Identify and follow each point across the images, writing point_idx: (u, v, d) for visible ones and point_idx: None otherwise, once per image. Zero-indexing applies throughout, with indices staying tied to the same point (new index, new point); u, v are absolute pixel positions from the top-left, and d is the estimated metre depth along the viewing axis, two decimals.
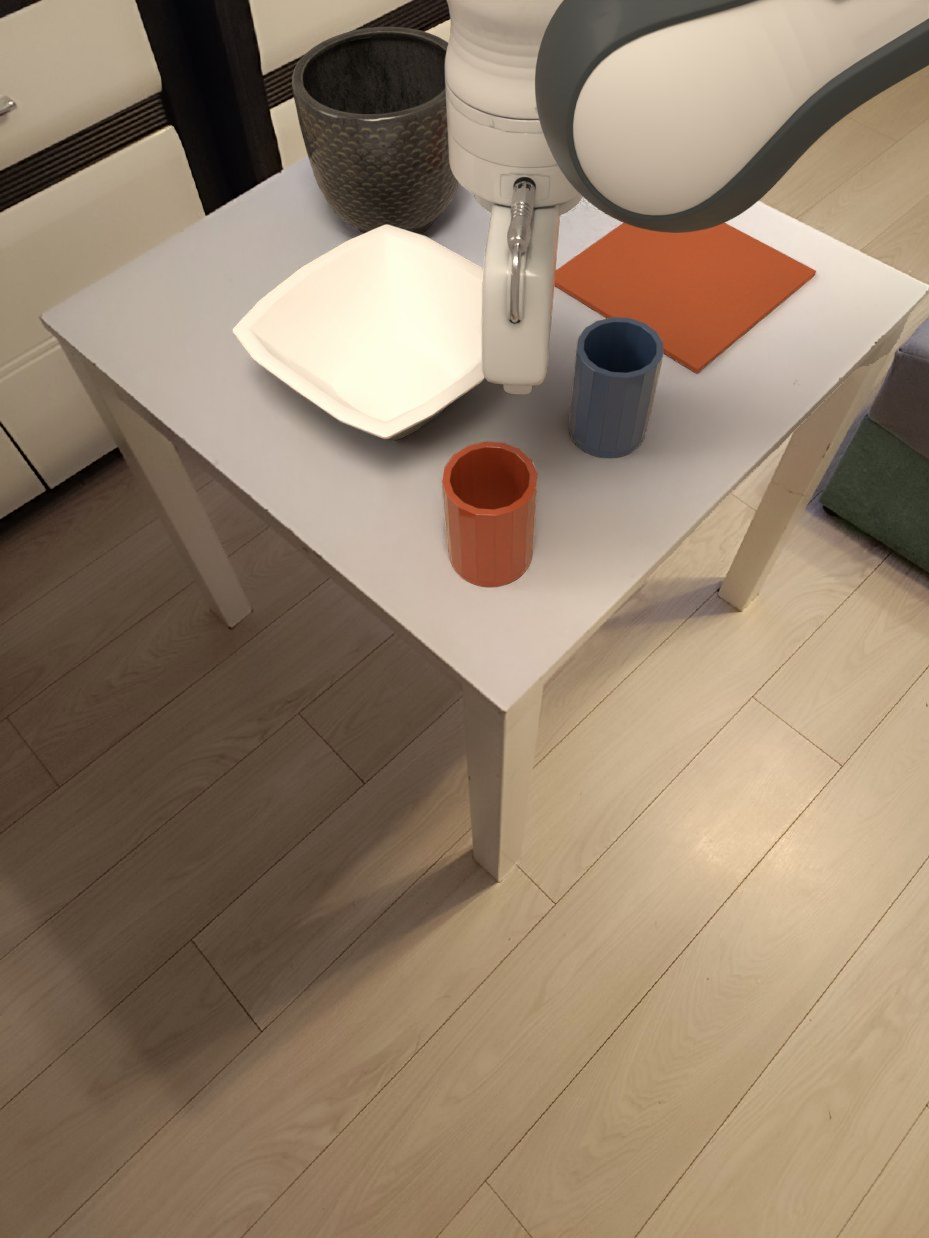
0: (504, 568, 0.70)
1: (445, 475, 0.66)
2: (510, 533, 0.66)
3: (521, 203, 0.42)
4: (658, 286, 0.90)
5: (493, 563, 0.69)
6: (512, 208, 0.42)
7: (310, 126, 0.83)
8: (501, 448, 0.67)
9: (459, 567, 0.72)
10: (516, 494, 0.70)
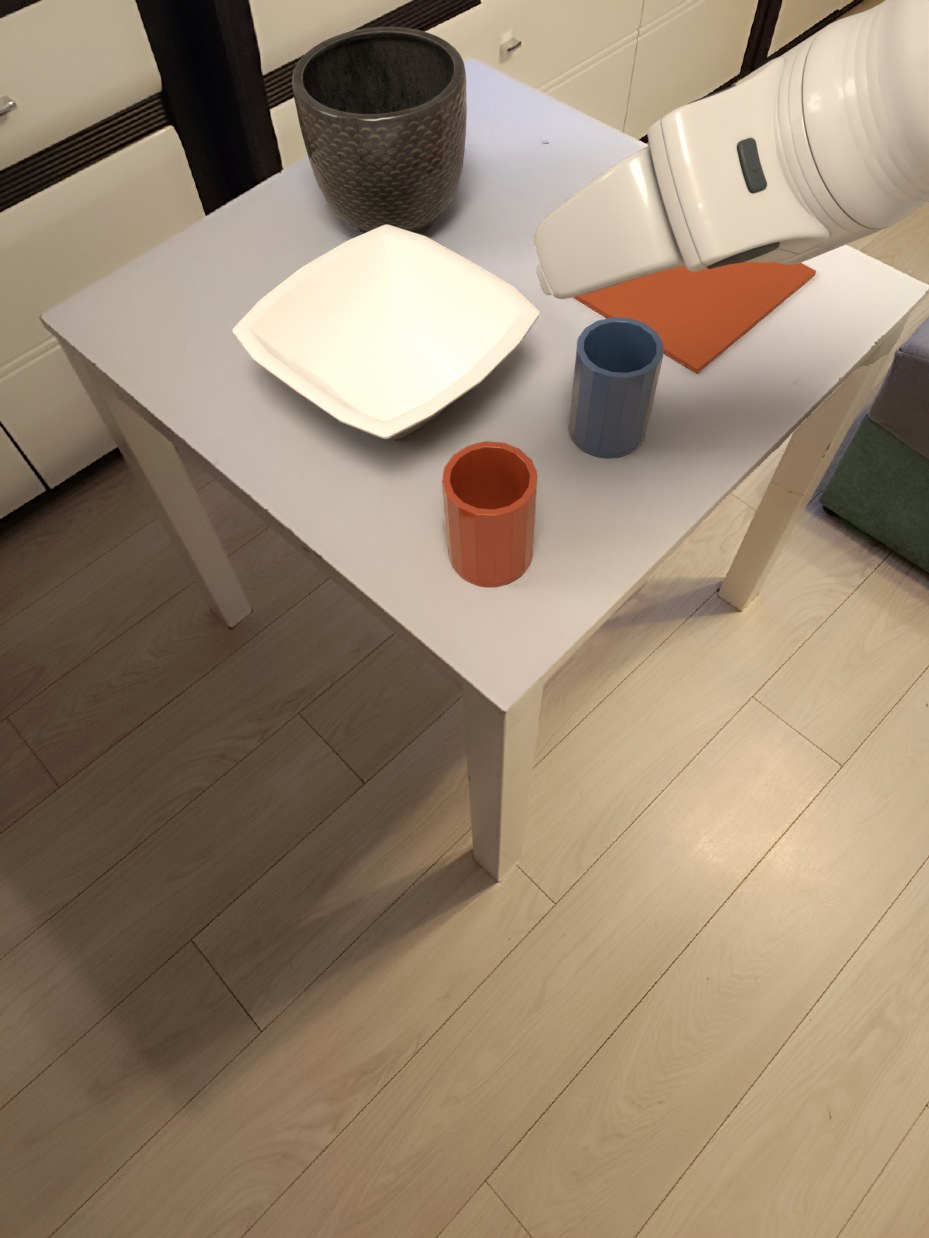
0: (504, 568, 0.70)
1: (445, 475, 0.66)
2: (510, 533, 0.66)
3: None
4: (658, 286, 0.90)
5: (493, 563, 0.69)
6: None
7: (310, 126, 0.83)
8: (501, 448, 0.67)
9: (459, 567, 0.72)
10: (516, 494, 0.70)
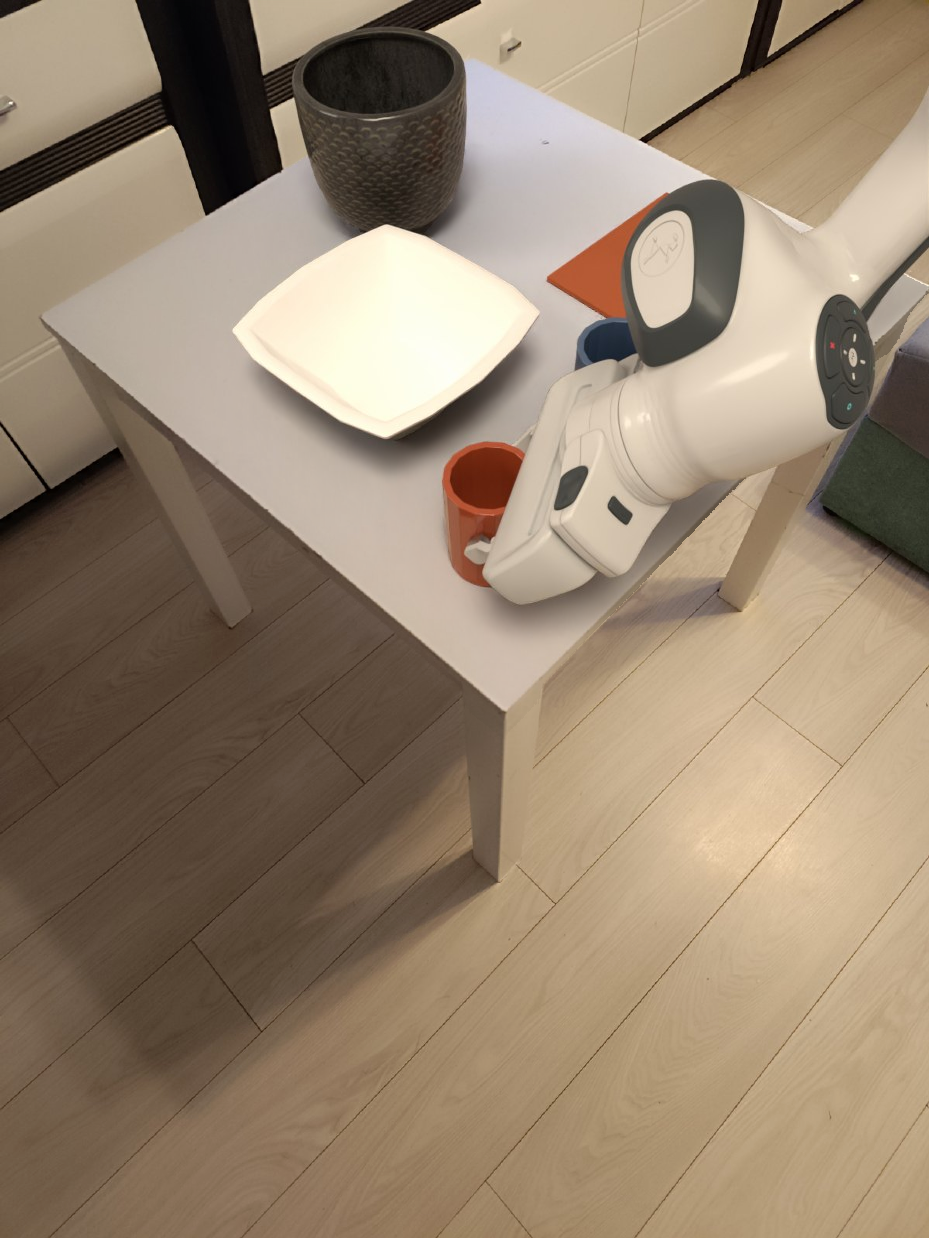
0: None
1: (445, 475, 0.66)
2: None
3: None
4: None
5: None
6: None
7: (310, 126, 0.83)
8: (501, 448, 0.67)
9: (459, 567, 0.72)
10: None
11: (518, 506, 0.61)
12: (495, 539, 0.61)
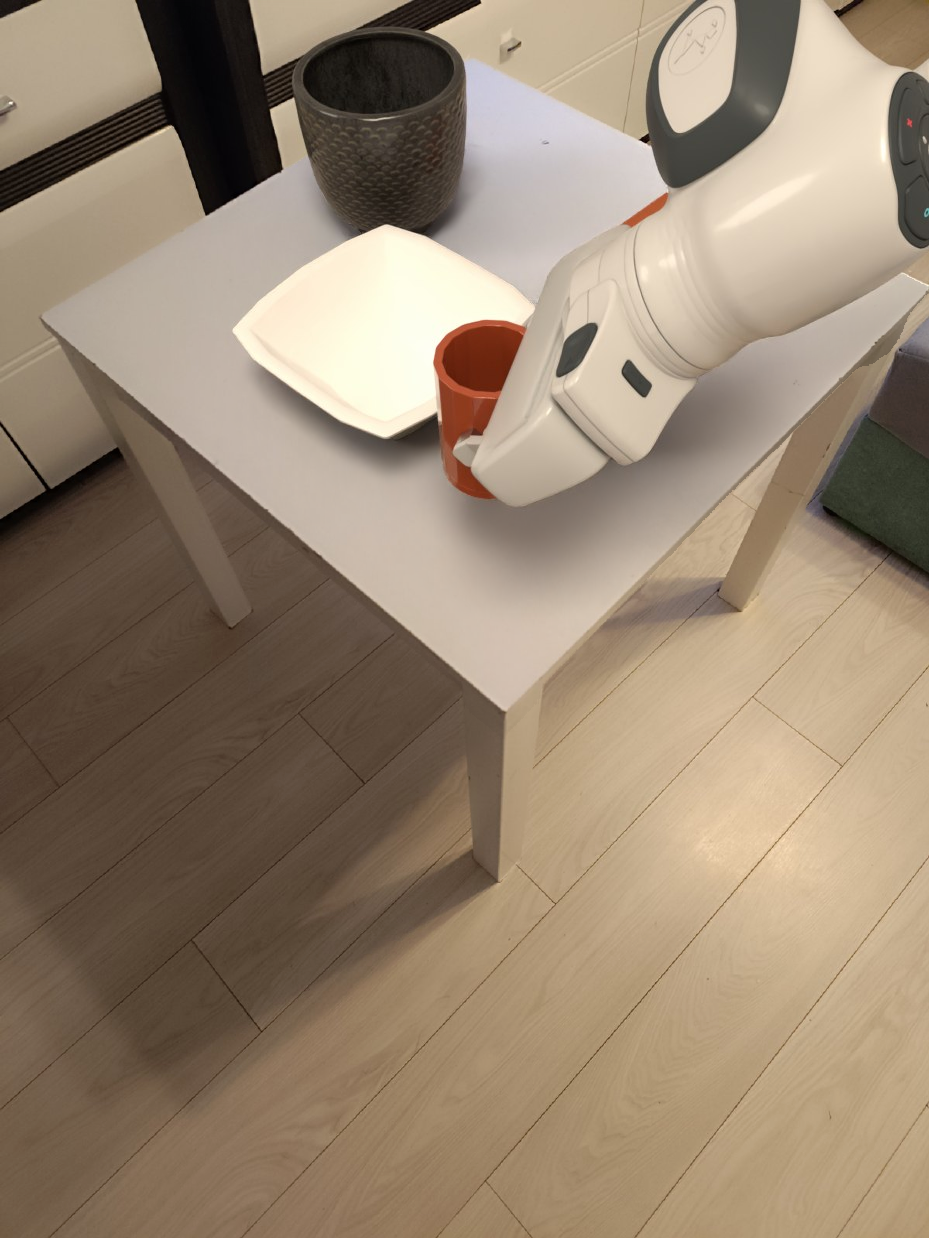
0: None
1: (437, 356, 0.55)
2: None
3: None
4: None
5: None
6: None
7: (310, 126, 0.83)
8: (503, 327, 0.57)
9: (454, 476, 0.61)
10: None
11: (513, 392, 0.52)
12: (487, 430, 0.51)
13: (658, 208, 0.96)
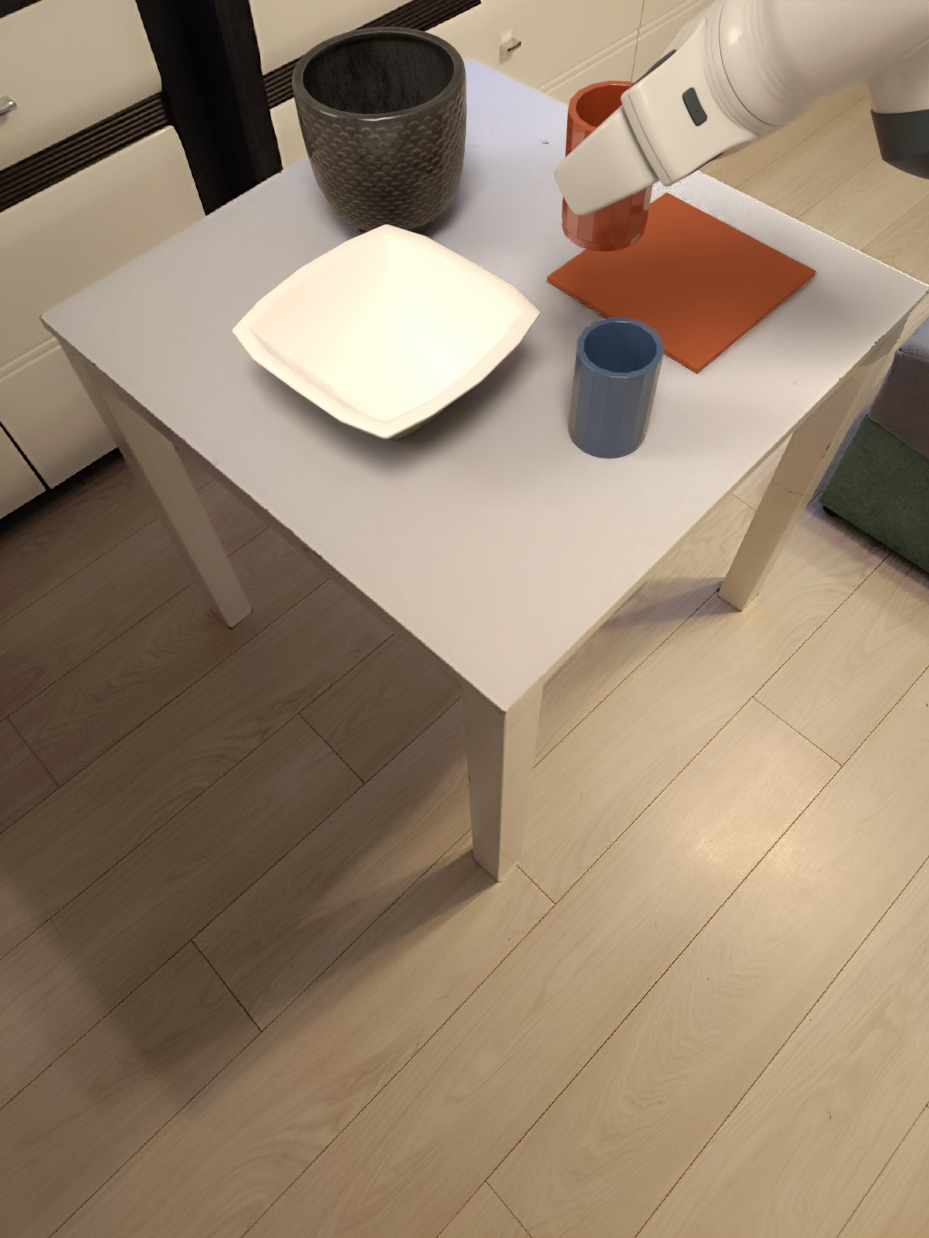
0: (604, 224, 0.70)
1: (575, 96, 0.66)
2: None
3: None
4: (658, 286, 0.90)
5: None
6: None
7: (310, 126, 0.83)
8: None
9: (565, 220, 0.72)
10: None
11: None
12: None
13: (658, 208, 0.96)
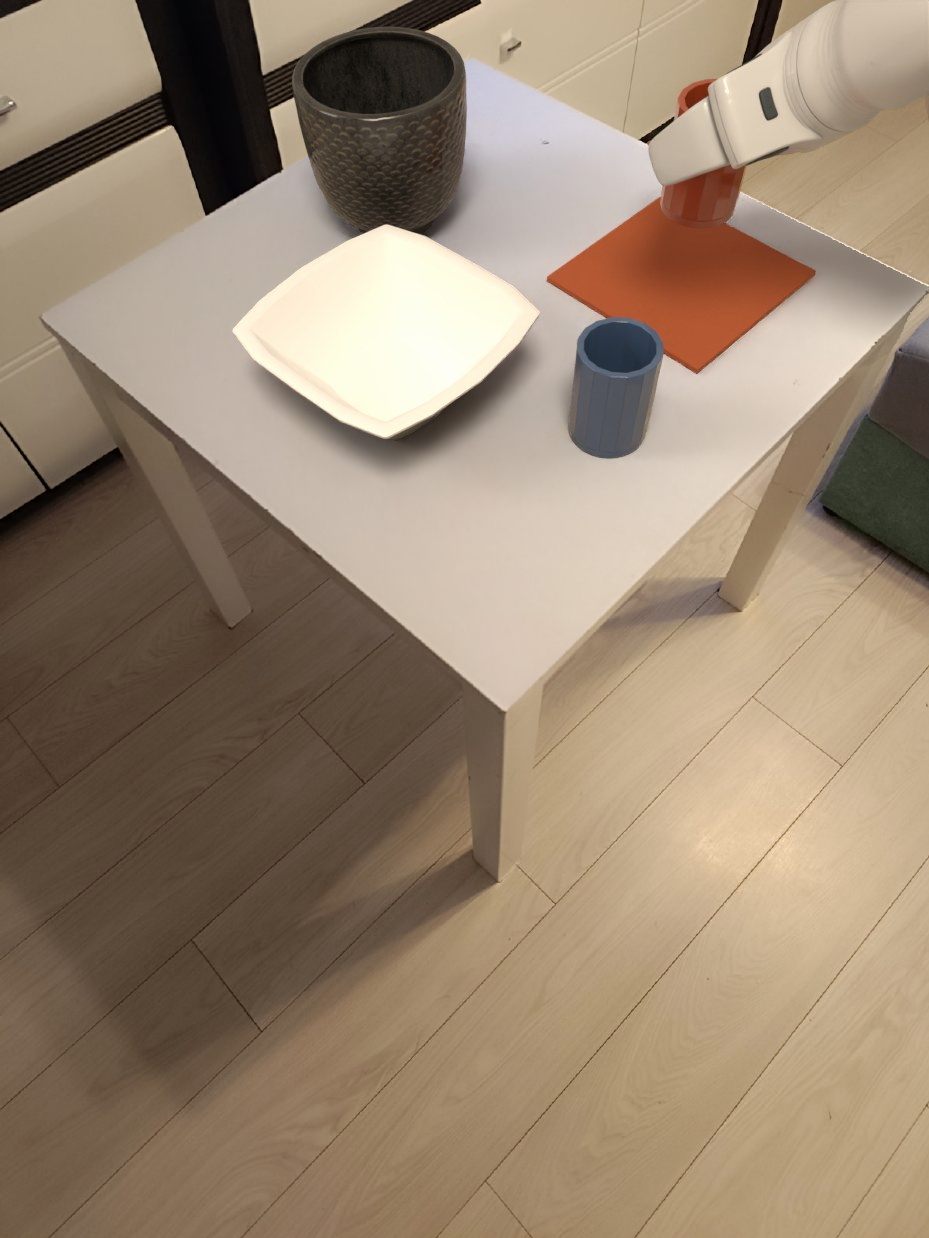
0: (693, 202, 0.80)
1: (688, 87, 0.77)
2: None
3: None
4: (658, 286, 0.90)
5: (686, 190, 0.79)
6: None
7: (310, 126, 0.83)
8: None
9: (662, 195, 0.83)
10: None
11: None
12: None
13: (658, 208, 0.96)
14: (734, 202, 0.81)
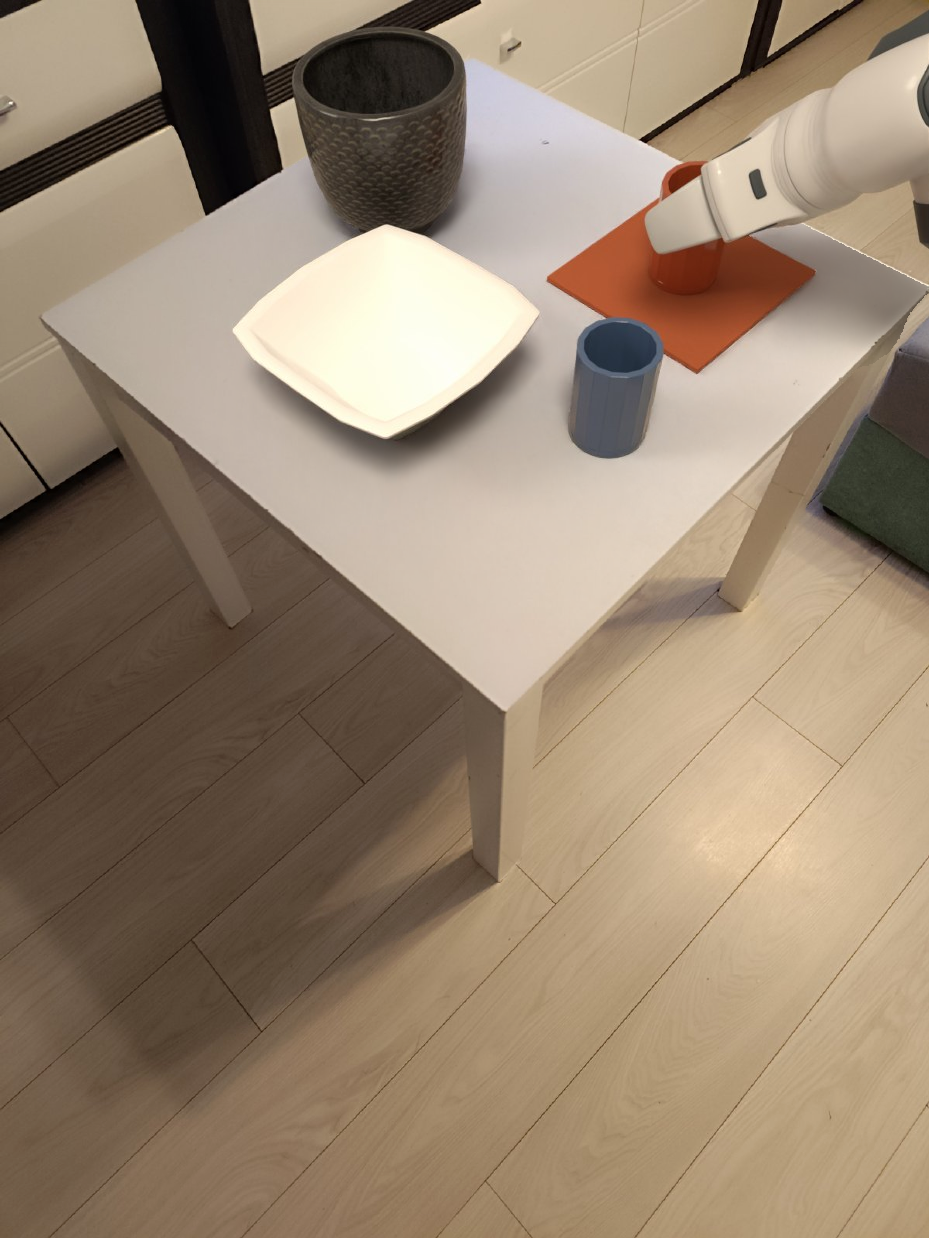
0: (677, 274, 0.87)
1: (672, 170, 0.83)
2: None
3: None
4: None
5: (670, 262, 0.86)
6: None
7: (310, 126, 0.83)
8: None
9: (650, 263, 0.89)
10: None
11: None
12: None
13: None
14: (716, 271, 0.88)
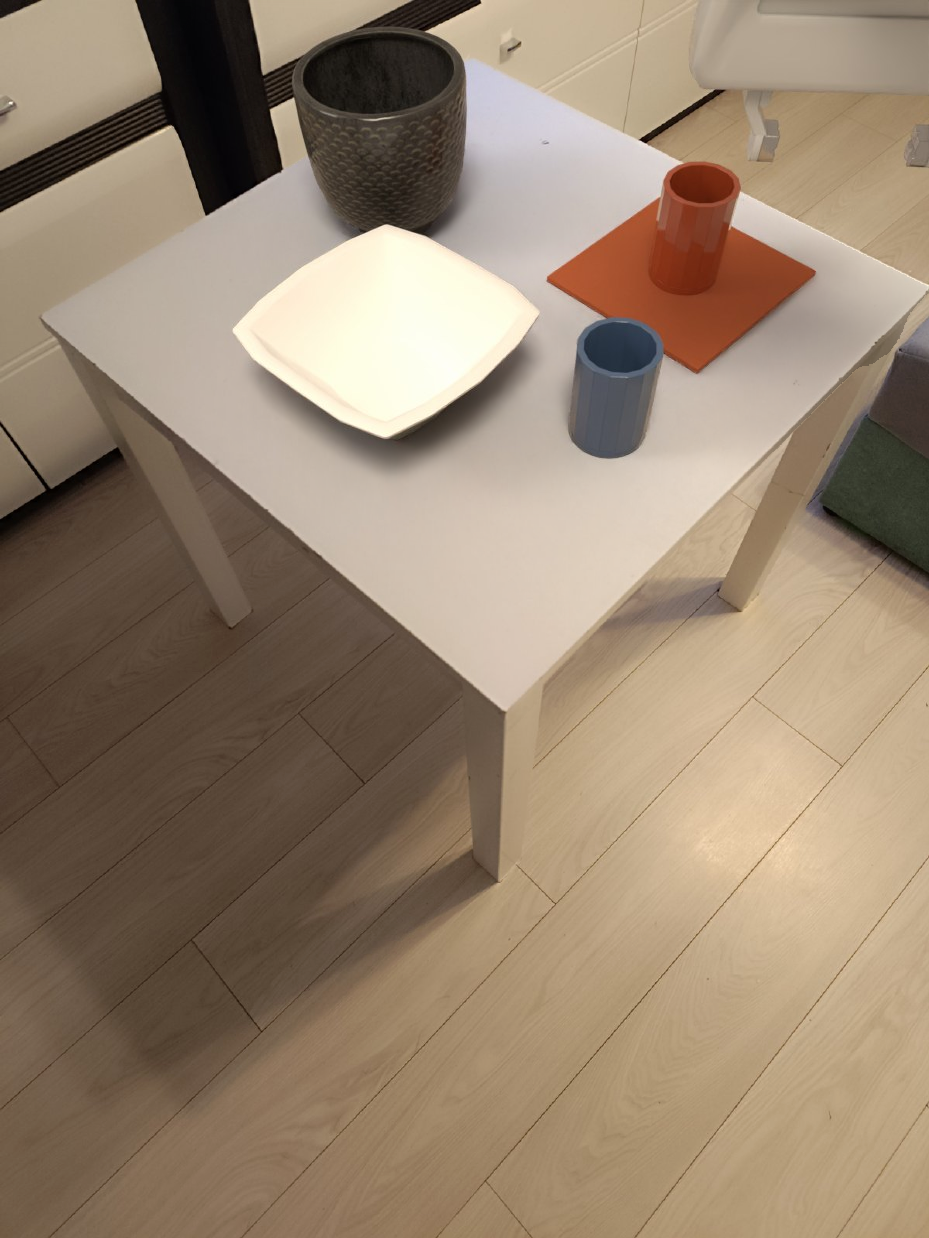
0: (677, 273, 0.87)
1: (673, 169, 0.83)
2: (691, 233, 0.83)
3: None
4: None
5: (671, 261, 0.86)
6: None
7: (310, 126, 0.83)
8: (726, 173, 0.83)
9: (650, 263, 0.89)
10: None
11: None
12: None
13: None
14: (716, 272, 0.88)
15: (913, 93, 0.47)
